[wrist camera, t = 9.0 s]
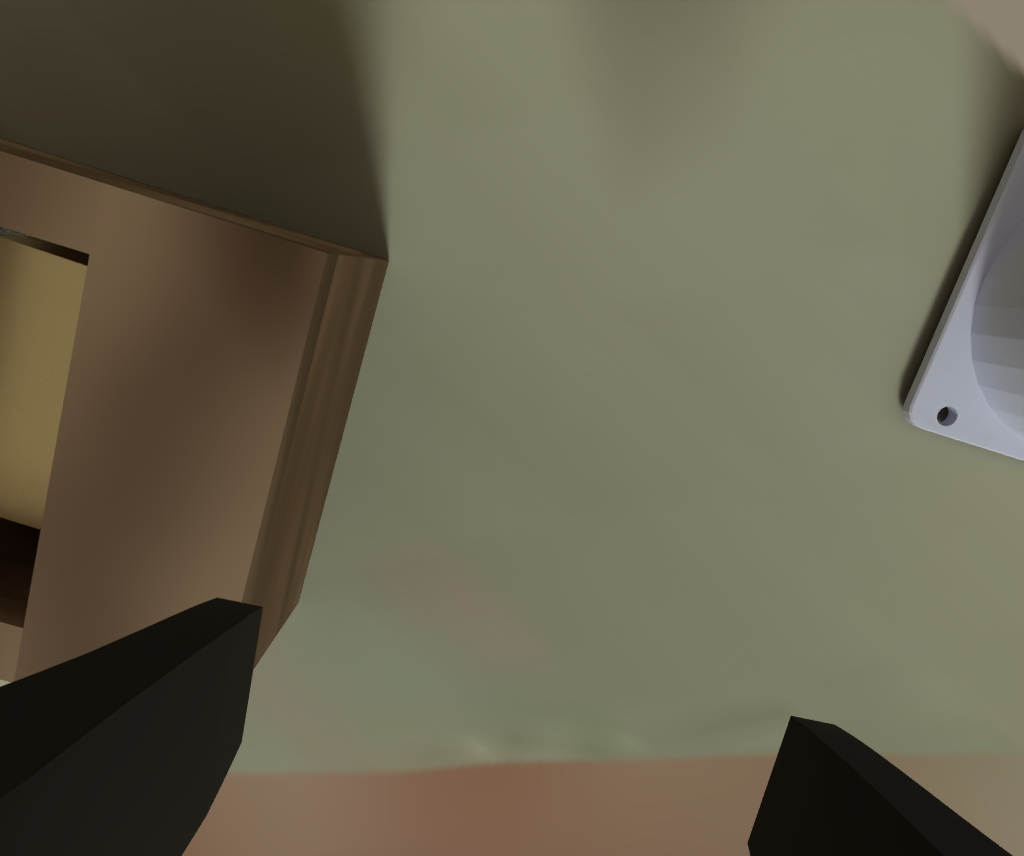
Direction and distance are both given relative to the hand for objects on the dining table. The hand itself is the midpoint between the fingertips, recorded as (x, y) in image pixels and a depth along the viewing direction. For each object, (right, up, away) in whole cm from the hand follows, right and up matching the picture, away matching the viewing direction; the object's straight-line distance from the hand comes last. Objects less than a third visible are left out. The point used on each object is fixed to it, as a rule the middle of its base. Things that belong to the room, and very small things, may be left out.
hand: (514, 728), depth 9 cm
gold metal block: (-10, +6, +10) cm, 15 cm away
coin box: (-10, +5, +10) cm, 15 cm away
